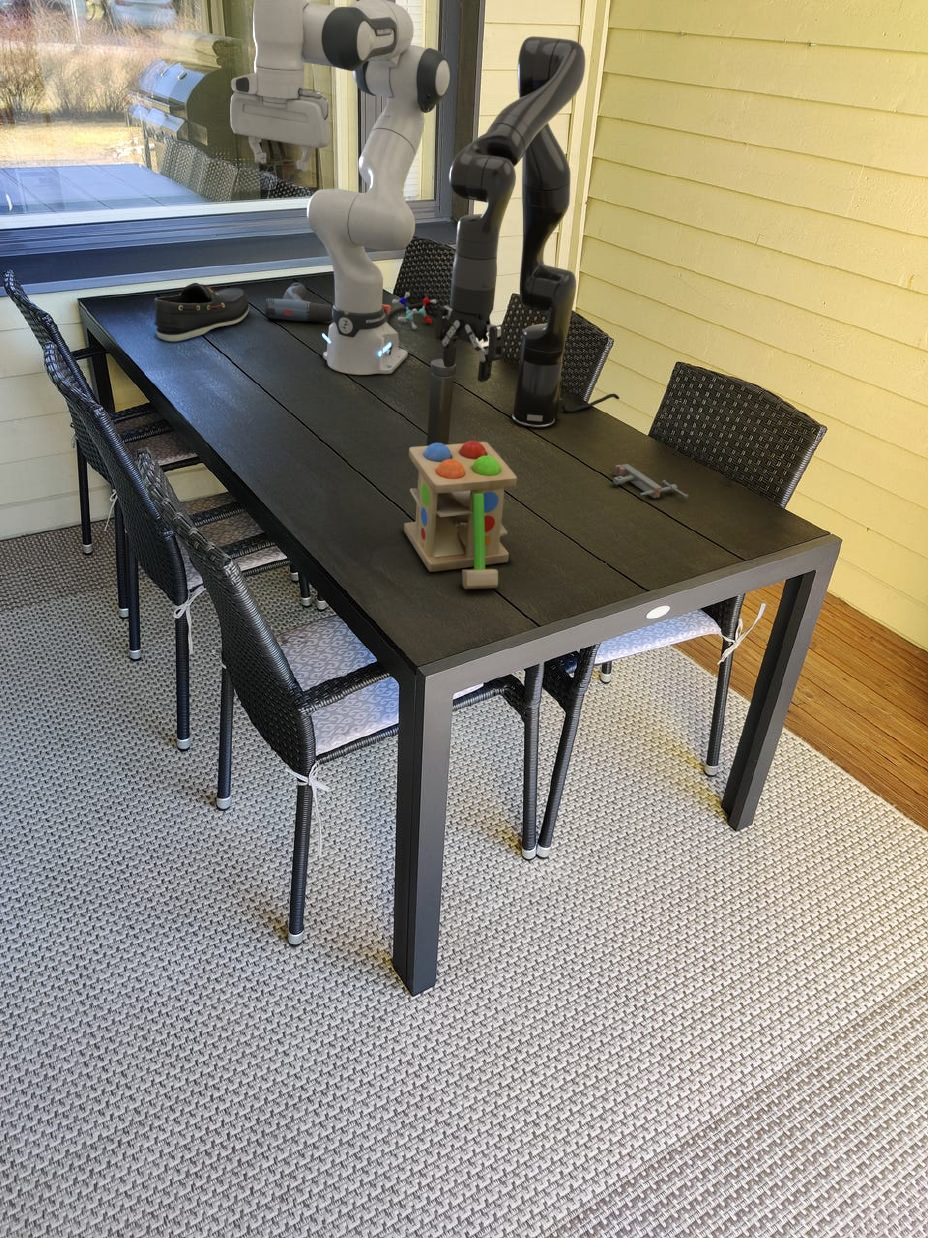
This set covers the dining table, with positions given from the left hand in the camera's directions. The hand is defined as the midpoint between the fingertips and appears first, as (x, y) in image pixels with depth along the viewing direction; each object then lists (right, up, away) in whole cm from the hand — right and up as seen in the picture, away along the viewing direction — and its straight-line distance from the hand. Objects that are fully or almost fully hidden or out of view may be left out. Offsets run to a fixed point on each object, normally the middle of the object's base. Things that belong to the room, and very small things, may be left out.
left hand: (281, 166), depth 187 cm
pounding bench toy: (+35, -76, -21) cm, 87 cm away
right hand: (+35, -42, -11) cm, 56 cm away
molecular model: (+21, -6, +79) cm, 82 cm away
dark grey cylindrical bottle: (+29, -53, +12) cm, 62 cm away
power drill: (-8, -3, +80) cm, 80 cm away
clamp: (+71, -61, +7) cm, 93 cm away
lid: (+31, -37, +1) cm, 49 cm away
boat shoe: (-32, -10, +65) cm, 74 cm away
